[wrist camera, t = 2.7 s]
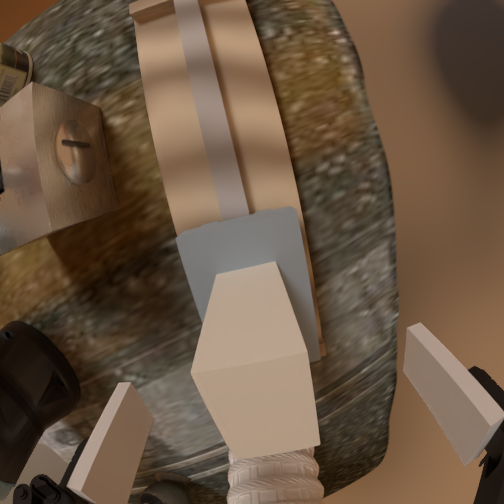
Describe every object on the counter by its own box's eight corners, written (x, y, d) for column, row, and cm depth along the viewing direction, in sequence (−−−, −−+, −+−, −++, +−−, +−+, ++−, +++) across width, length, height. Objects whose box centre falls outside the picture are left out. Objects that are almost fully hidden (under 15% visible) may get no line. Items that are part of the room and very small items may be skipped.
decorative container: (307, 391, 28) (343, 530, 11) (317, 441, 31) (343, 546, 14) (210, 410, 29) (196, 545, 11) (238, 456, 32) (238, 560, 14)
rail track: (319, 339, 26) (326, 355, 24) (222, 360, 27) (221, 377, 24) (238, -11, 17) (238, -26, 14) (138, 16, 17) (129, 4, 14)
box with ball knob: (125, 207, 22) (59, 228, 13) (46, 236, 23) (-20, 265, 13) (105, 104, 20) (38, 76, 10) (28, 148, 20) (-40, 148, 10)
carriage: (312, 337, 24) (358, 459, 11) (225, 356, 24) (215, 484, 11) (288, 204, 21) (358, 250, 8) (185, 228, 21) (105, 306, 8)
